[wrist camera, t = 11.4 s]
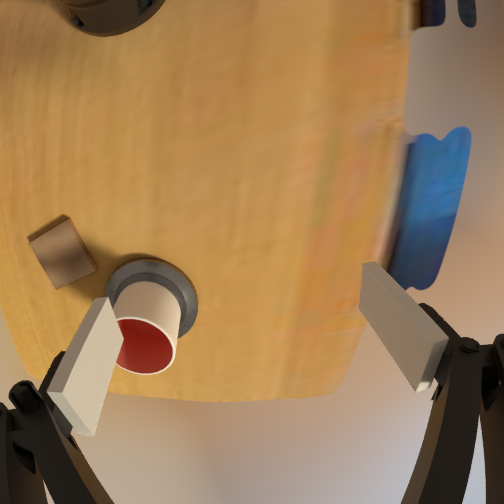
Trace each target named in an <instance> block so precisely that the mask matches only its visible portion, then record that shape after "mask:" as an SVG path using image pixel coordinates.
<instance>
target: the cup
mask: <svg viewBox="0 0 504 504" xmlns="http://www.w3.org/2000/svg"><path fill="white" fill-rule="evenodd" d="M113 312H114V315H115V317H116V320H117V323H118V325H119V328H120V330H121V333H122V336H123V338H124V340H123V343H122V346H121V349H120V352H119V355H118V358H117V361H116V365H118V366H119V367H121V368H123V369H125V370H127V371H129V372H132V373H136V374H143V375H149V374H156V373H159V372H162V371H164V370H165V369H167V368H168V367H169V366H170V365H171V364H172V362H173V360H174V358H175V352H176V345H177V337H178V330H179V323H180V316H181V311H180V306H179V303H178V301H177V299H176V298H175V296H174V295H173V294H172V293H171V292H170V291H169V290H168V289H166V288H165V287H163V286H161V285H159V284H157V283H153V282H147V281H142V282H136V283H133V284H131V285H129V286H127V287H126V288H125V289H124V290H123V291H122V292H121V294H120V295H119V297H118V299H117V301H116V303H115V305H114V307H113Z"/></svg>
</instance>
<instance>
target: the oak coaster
mask: <svg viewBox="0 0 504 504" xmlns="http://www.w3.org/2000/svg"><path fill="white" fill-rule="evenodd" d="M29 244H30V246H31V248H32V250H33V251H34V253H35V255H36V257H37V259H38V260H39V262H40V264H41V266H42V267H43V269H44V271H45V272H46V274H47V276H48V277H49V279H50V281H51V282H52V284H53V286H54V287H55V289H56V290H57V289H59V288H61V287H63V286H65V285H67V284H70V283H72V282H74V281H76V280H78V279H80V278H82V277H84V276H86V275H89V274H91V273H93V272H95V271H96V269H97V266H96V265H95V263H94V261H93V260H92V258H91V256H90V254H89V252H88V251H87V249H86V247H85V245H84V243H83V242H82V240H81V238H80V236H79V234H78V232H77V230H76V228H75V226H74V224H73V223H72V221H71V219H70V218H69V219H67V220H65V221H64V222H62V223H60V224H59V225H57V226H55V227H54V228H52V229H50V230H49V231H47V232H46V233H44V234H42V235H41V236H39V237H38V238H36V239H34V240H33V241H32V242H30V243H29Z"/></svg>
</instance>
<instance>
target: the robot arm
mask: <svg viewBox="0 0 504 504" xmlns="http://www.w3.org/2000/svg"><path fill="white" fill-rule="evenodd" d="M61 1H62V2H63V3H64V6H65V9H66V12H67V15H68V17H69V19H70V21H71V22H72V23H73V24H74V25H75V26H76V27H77V28H78V29H80V30H82V31H83V32H85V33H87V34H89V35H93V36H99V37H107V36H114V35H119V34H122V33H125V32H128V31H130V30H132V29H134V28H136V27H138V26H140V25H141V24H143V23H144V22H146V21H147V20H148V19H150V18H151V17H152V16H153V15H154V14H155V13H156V12H157V11H158V10H159V9H160V7H161V6H162V5H163V3H164V2H165V0H61ZM359 309H360V310H361V312H362V313H363V315H364V316H365V317H366V319H367V320H368V322H369V323H370V325H371V326H372V328H373V329H374V331H375V332H376V333H377V335H378V336H379V338H380V339H381V341H382V342H383V344H384V345H385V347H386V348H387V350H388V351H389V353H390V354H391V356H392V357H393V359H394V360H395V362H396V363H397V365H398V366H399V368H400V369H401V371H402V372H403V374H404V375H405V377H406V378H407V380H408V382H409V383H410V385H411V386H412V388H413V389H414V391H415V392H419V391H422V390H424V389H427V388H429V387H430V386H431V383H432V382H433V379H434V378H435V379H436V380H437V382H438V386H437V388H436V390H435V392H434V394H433V397H432V399H431V400H434V401H433V406H432V410H431V414H430V418H429V422H428V425H427V429H426V433H425V436H424V440H423V443H422V446H421V450H420V453H419V456H418V459H417V462H416V465H415V468H414V471H413V473H412V476H411V479H410V482H409V484H408V487H407V490H406V492H405V494H404V497H403V499H402V502H401V504H462V502H463V498H464V494H465V490H466V487H467V483H468V478H469V474H470V469H471V464H472V459H473V454H474V448H475V442H476V435H477V428H478V419H479V415H480V422H481V429H482V438H483V447H484V459H485V474H486V475H485V476H486V504H504V334H499V335H497V336H496V338H495V340H494V342H493V344H488V345H480V344H479V343H478V342H477V341H476V340H474V339H471V338H468V337H462V338H461V337H460V336H459V335H458V334H457V333H456V332H455V331H454V330H453V328H452V327H451V326H450V325H449V324H448V323H447V322H446V321H444V320H443V318H442V317H441V316H440V315H438V313H437V312H436V311H435V310H434V309H433V308H432V307H430V306H428V305H427V304H425V303H420V304H417V303H416V302H415V301H414V300H413V299H412V298H411V297H410V296H409V295H408V294H407V292H406V291H405V290H404V289H403V288H402V287H401V286H400V285H399V284H398V283H397V282H396V281H395V280H394V279H393V278H392V277H391V276H390V275H389V274H388V273H387V272H386V271H385V270H384V269H383V268H382V267H381V266H380V265H378V264H377V263H376V262H370V263H364V264H363V267H362V280H361V291H360V301H359ZM123 340H124V338H123V336H122V333H121V330H120V328H119V325H118V323H117V320H116V317H115V315H114V312H113V309H112V306H111V304H110V301H109V298H108V297H102V298H95V300H94V302H93V303H92V305H91V307H90V308H89V310H88V312H87V314H86V315H85V317H84V319H83V321H82V323H81V324H80V326H79V328H78V330H77V332H76V334H75V335H74V337H73V339H72V341H71V343H70V345H69V347H68V349H67V351H61V352H60V353H59V354H58V355H57V356H56V357H55V358H54V360H53V362H52V364H51V366H50V368H49V370H48V372H47V374H46V376H45V378H44V380H43V382H42V384H41V386H40V388H39V390H37V389H36V388H35V386H34V385H33V383H32V382H31V381H28V380H26V381H24V380H23V381H21V382H18V383H17V384H15V385H14V386H13V387H12V388H11V390H10V392H9V399H10V401H11V402H12V403H13V405H14V406H15V407H16V409H11V410H8V409H7V407H6V406H5V405H4V404H3V403H1V402H0V504H48V502H47V498H46V493H45V488H44V483H43V480H44V482H45V484H46V486H47V488H48V491H49V493H50V495H51V497H52V499H53V501H54V503H55V504H114V502H113V501H112V500H111V498H110V497H109V495H108V494H107V492H106V491H105V489H104V488H103V486H102V485H101V483H100V482H99V480H98V479H97V477H96V476H95V474H94V472H93V471H92V469H91V467H90V466H89V464H88V462H87V461H86V459H85V457H84V455H83V454H82V452H81V450H80V448H79V447H78V445H77V443H76V441H75V439H74V438H73V436H72V435H71V434H70V433H71V430H72V427H73V428H74V429H75V430H76V432H77V433H78V434H79V435H85V436H94V435H95V431H96V427H97V424H98V420H99V416H100V413H101V409H102V406H103V402H104V399H105V396H106V392H107V389H108V386H109V382H110V379H111V376H112V373H113V370H114V367H115V364H116V361H117V358H118V355H119V352H120V349H121V346H122V343H123Z"/></svg>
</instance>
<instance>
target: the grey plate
mask: <svg viewBox="0 0 504 504" xmlns="http://www.w3.org/2000/svg"><path fill="white" fill-rule="evenodd" d="M142 281H147V282H153V283H157V284H159V285H161V286H163V287H165V288H166V289H168V290H169V291H170V292H171V293H172V294H173V295H174V296H175V298H176V299H177V301H178V303H179V306H180V311H181V316H180V323H179V330H178V337H177V339H178V338H180V337H182V336H183V335H184V334H186V333H187V332H188V331H189V330H190V329H191V327H192V326H193V324H194V322H195V320H196V317H197V311H198V298H197V293H196V290H195V288H194V285H193V284H192V282H191V280H190V279H189V278H188V277H187V275H186V274H185V273H184V272H183V271H182V270H180V269H179V268H178V267H176V266H174V265H173V264H171V263H169V262H166V261H164V260H160V259H156V258H137V259H133V260H130V261H128V262H126V263H124V264H122V265H121V266H120V267H119V268H118V269H117V270H116V271H115V272H114V273H113V275H112V276H111V278H110V280H109V282H108V284H107V286H106V290H105V297H108V298H109V301H110V304H111V306H112V309H113V307H114V305H115V303H116V301H117V299H118V297H119V295H120V294H121V292H122V291H123V290H124V289H125V288H126V287H127V286H129V285H131V284H133V283H136V282H142Z"/></svg>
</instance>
